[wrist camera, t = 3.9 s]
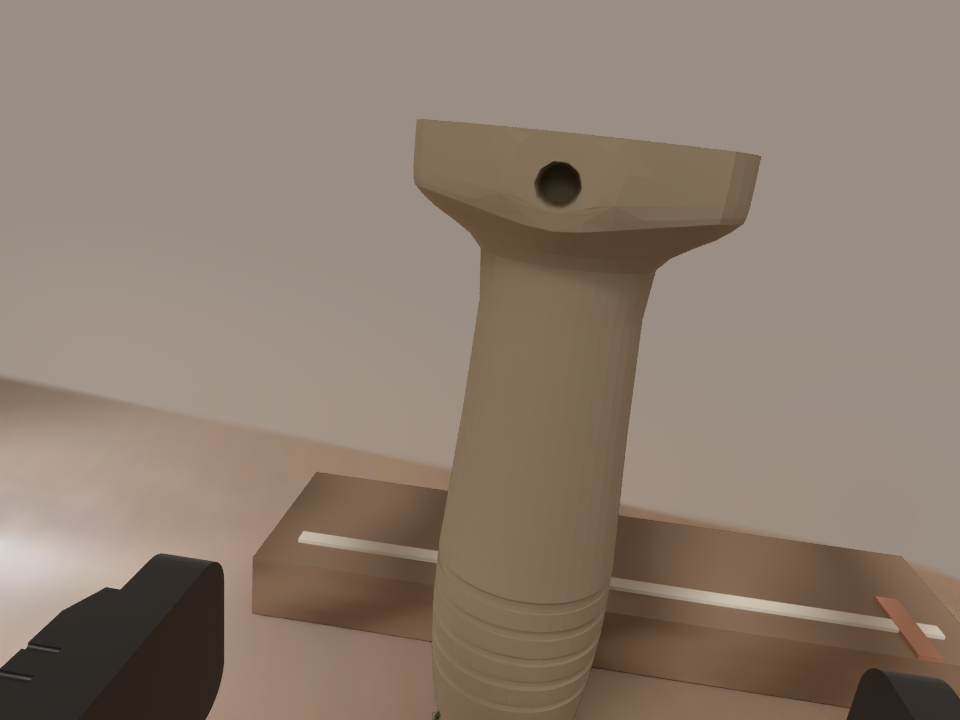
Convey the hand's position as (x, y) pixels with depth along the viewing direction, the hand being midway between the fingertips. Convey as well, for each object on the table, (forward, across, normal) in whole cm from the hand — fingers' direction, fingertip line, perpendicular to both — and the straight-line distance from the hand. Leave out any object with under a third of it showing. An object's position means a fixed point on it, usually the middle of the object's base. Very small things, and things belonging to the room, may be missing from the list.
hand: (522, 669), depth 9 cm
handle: (+7, 0, +9) cm, 11 cm away
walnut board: (+14, -3, +8) cm, 16 cm away
